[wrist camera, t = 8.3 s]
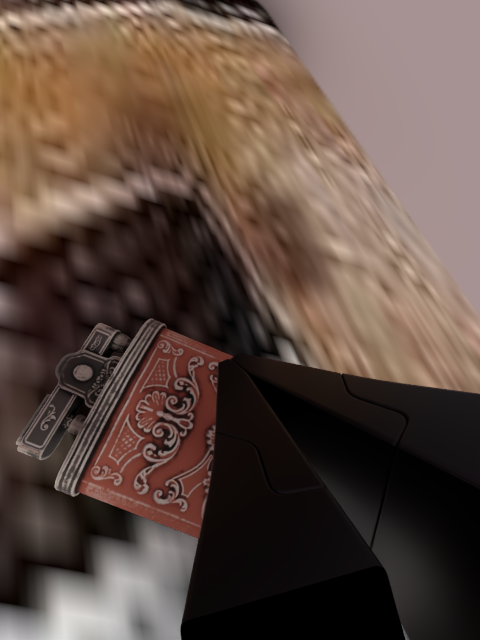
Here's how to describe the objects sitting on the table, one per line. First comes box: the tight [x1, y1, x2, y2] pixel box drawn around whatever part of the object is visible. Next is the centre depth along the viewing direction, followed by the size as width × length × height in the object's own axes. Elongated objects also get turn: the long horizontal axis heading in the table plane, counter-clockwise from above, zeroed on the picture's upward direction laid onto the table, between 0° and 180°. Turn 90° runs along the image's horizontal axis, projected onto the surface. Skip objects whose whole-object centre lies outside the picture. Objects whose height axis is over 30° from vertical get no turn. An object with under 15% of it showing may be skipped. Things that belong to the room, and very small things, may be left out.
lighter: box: [16, 319, 233, 538], centre depth 12 cm, size 8×3×10 cm
